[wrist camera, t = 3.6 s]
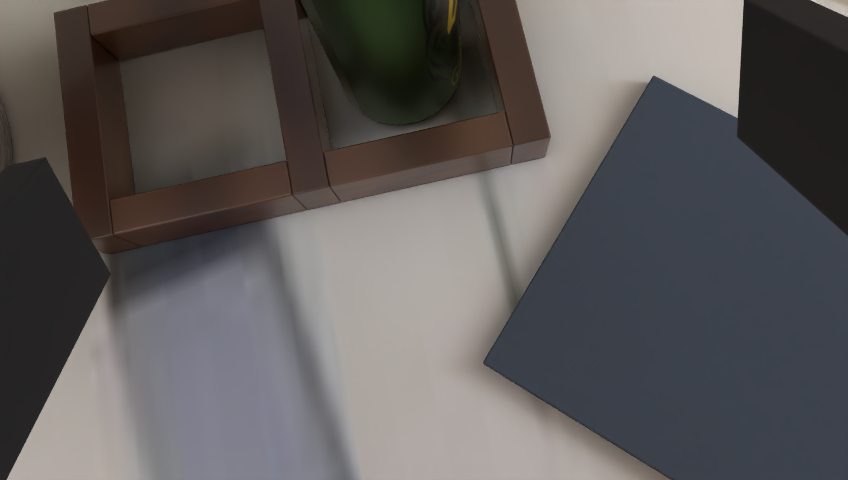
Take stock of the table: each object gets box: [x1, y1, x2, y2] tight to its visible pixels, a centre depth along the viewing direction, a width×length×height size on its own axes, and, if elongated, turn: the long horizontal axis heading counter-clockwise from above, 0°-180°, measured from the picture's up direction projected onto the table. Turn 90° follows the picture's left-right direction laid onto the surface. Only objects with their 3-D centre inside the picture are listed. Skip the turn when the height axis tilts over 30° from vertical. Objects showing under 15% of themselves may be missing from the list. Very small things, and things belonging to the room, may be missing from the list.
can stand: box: [54, 0, 551, 254], centre depth 30 cm, size 19×10×2 cm, turn 102°
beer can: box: [300, 0, 462, 125], centre depth 25 cm, size 5×5×12 cm
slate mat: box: [483, 76, 848, 480], centre depth 27 cm, size 20×14×1 cm
